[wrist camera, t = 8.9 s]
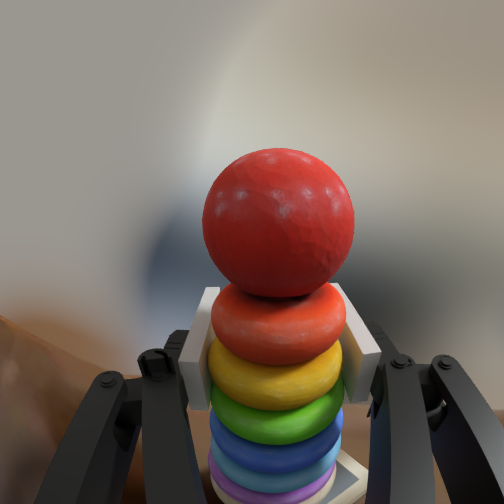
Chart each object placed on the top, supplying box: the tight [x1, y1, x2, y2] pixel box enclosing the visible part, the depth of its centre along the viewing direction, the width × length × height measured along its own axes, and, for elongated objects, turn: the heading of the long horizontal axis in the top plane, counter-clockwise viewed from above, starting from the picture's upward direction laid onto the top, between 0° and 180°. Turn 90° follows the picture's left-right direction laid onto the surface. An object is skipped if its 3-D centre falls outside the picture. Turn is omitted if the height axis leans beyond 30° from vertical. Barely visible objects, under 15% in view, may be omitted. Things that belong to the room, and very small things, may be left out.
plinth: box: [319, 449, 368, 504], centre depth 21 cm, size 12×12×4 cm
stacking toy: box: [202, 148, 354, 504], centre depth 11 cm, size 8×8×19 cm
